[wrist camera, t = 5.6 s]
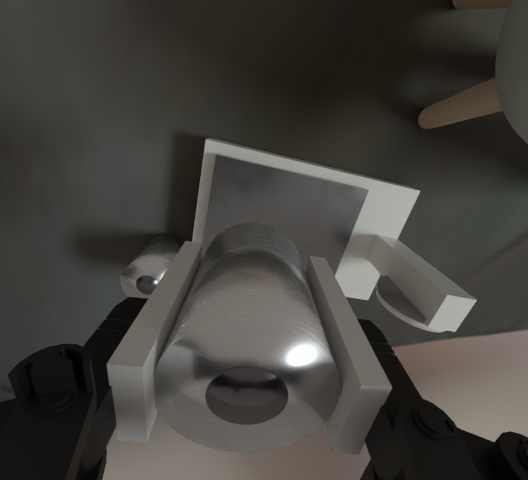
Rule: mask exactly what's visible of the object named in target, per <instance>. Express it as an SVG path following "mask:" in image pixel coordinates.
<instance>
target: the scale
mask: <svg viewBox="0 0 528 480" xmlns="http://www.w3.org/2000/svg"><path fill="white" fill-rule="evenodd" d="M216 154H221V155H225V156H229V157H234V158H238V159H242V160H246V161H250V162H255V163H259V164H263V165H267V166H272V167H276V168H280V169H284V170H289V171H293V172H297V173H301V174H306V175H310V176H314V177H318V178H323V179H327V180H331V181H335V182H340V183H344V184H348V185H352V186H357V187H361V188H365V189H367V190H369V191H368V194H367V196H366V199H365V201H364V204H363V206H362V209H361V211H360V214H359V216H358V219H357V222H356V224H355V227H354V229H353V232H352V234H351V237H350V239H349V242H348V244H347V247H346V249H345V252H344V254H343V257H342V259H341V262H340V264H339V267H338V269H337V272H336V274H335V278H336V280H337V282H338V284H339V286H340V287H341V289H342V291H343V293H344V295H345V296H346V297H351V298H357V299H363V300H368V299H369V297H370V295H371V293H372V291H373V289H374V287H375V285H376V289H377V297H378V299H379V301H380V302H381V304H382V305H383V306H384V307H385V308H386V309H387V310H389V311H390V312H391V313H392V314H394V315H395V316H397V317H398V318H400V319H401V320H403V321H405V322H407V323H409V324H411V325H413V326H415V327H418V328H420V329H423V330H427V331H431V332H444V331H446V330H447V331H453V332H455V331H456V330H457V329H458V327H459V326H460V324H461V323H462V321H463V320H464V318H465V317H466V315H467V314H468V312H469V311H470V310H471V308H472V307H473V305H474V304H475V302H476V301H477V300H476V299H475V298H473V297H472V296H471V295H469V294H468V293H467V292H465V291H464V290H463V289H461V288H460V287H459V286H458V285H456V284H455V283H454V282H452V281H451V280H450V279H448V278H447V277H446V276H445V275H443V274H442V273H441V272H439V271H438V270H437V269H435V268H434V267H433V266H431V265H430V264H429V263H428V262H426V261H425V260H424V259H422V258H421V257H420V256H418V255H417V254H416V253H415V252H413V251H412V250H411V249H409V248H408V247H407V246H405V245H404V244H403V243H401V242H400V241H399V240H398V237H399V235H400V232H401V230H402V228H403V226H404V224H405V222H406V220H407V218H408V216H409V214H410V212H411V210H412V207H413V205H414V203H415V201H416V199H417V197H418V195H419V193H420V191H419V190H416V189H414V188H411V187H408V186H406V185H402V184H398V183H394V182H390V181H386V180H382V179H378V178H374V177H370V176H365V175H361V174H357V173H353V172H349V171H345V170H341V169H337V168H333V167H328V166H324V165H320V164H316V163H312V162H308V161H304V160H300V159H296V158H291V157H287V156H283V155H279V154H275V153H271V152H267V151H263V150H259V149H255V148H250V147H246V146H242V145H238V144H234V143H230V142H226V141H222V140H218V139H213V138H208V139H206V141H205V148H204V156H203V163H202V171H201V178H200V186H199V193H198V201H197V208H196V216H195V223H194V231H193V238H192V242H199V243H203V236H204V229H205V223H206V216H207V210H208V203H209V196H210V190H211V183H212V177H213V170H214V164H215V157H216ZM380 274H381V275H382V277H380V278H379V276H380ZM378 278H379V280H378ZM377 280H378V282H377ZM376 283H377V284H376Z"/></svg>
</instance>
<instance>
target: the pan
mask: <svg viewBox="0 0 528 480" xmlns="http://www.w3.org/2000/svg"><path fill="white" fill-rule="evenodd" d="M368 191H369V190H367V189H365V188H361V187H357V186H352V185H348V184H344V183H340V182H335V181H331V180H327V179H323V178H318V177H314V176H310V175H306V174H301V173H297V172H293V171H289V170H284V169H280V168H276V167H272V166H267V165H263V164H259V163H255V162H250V161H246V160H242V159H238V158H234V157H229V156H225V155H221V154H216V157H215V164H214V170H213V177H212V183H211V190H210V196H209V203H208V210H207V216H206V223H205V229H204V236H203V243H202V259H203V257H204V255H205V252H206V250H207V248H208V246H209V244H210V243H211V241H212V240H213V239H214V238H215V237H216V236H217V235H218V234H219V233H220V232H222V231H223V230H225V229H227V228H229V227H231V226H233V225H237V224H241V223H248V222H255V223H263V224H267V225H270V226H272V227H275V228H277V229H278V230H280V231H282V232H283V233H284V234H285V235H287V236H288V237H289V239H290V240H291V241H292V242H293V244H294V245H295V247H296V249H297V251H298V254H299V257H300V260H301V263H302V266H303V269H304V272H306V268H307V264H308V260H309V256H315V257H323V258H325V259H326V260H327V262H328V264H329V266H330V268H331V270H332V272H333V274H334V276H335V274H336V272H337V269H338V267H339V264H340V262H341V259H342V257H343V254H344V252H345V249H346V247H347V244H348V242H349V239H350V237H351V234H352V232H353V229H354V227H355V224H356V222H357V219H358V216H359V214H360V211H361V209H362V206H363V204H364V201H365V199H366V196H367V194H368ZM201 262H202V261H201Z"/></svg>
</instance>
